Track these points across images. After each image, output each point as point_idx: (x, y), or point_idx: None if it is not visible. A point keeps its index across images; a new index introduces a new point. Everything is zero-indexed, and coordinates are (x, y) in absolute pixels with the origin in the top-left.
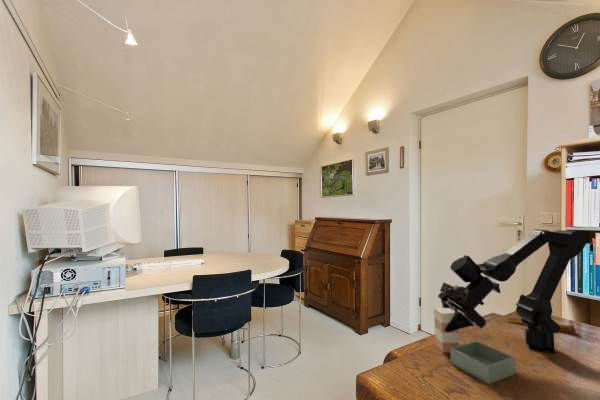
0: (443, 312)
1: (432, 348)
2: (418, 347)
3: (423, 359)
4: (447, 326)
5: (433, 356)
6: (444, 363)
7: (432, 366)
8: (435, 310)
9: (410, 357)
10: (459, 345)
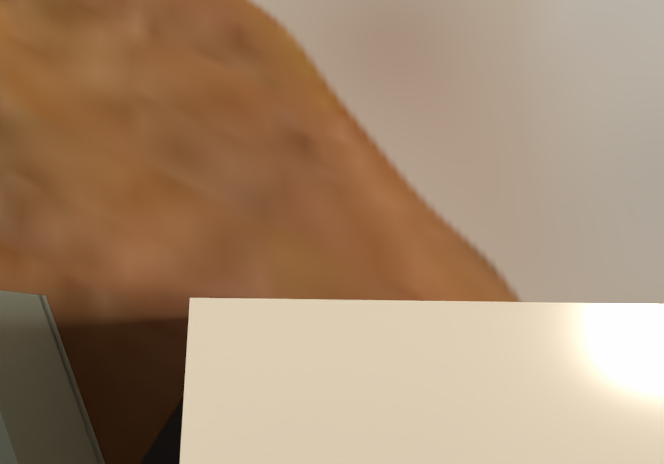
0: (300, 448)
1: (331, 259)
2: (353, 144)
3: (139, 91)
4: None
5: (183, 198)
6: (49, 235)
7: (13, 109)
8: (632, 305)
9: (183, 6)
10: (9, 451)
